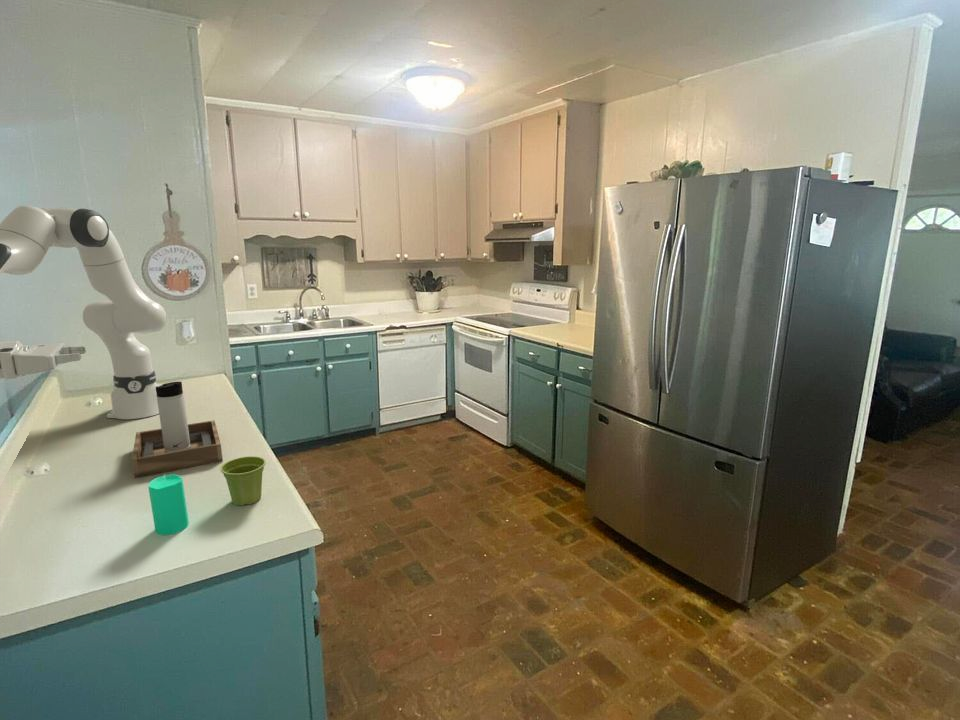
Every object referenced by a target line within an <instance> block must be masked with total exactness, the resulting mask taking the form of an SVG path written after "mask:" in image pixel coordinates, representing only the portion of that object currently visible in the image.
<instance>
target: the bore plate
mask: <svg viewBox="0 0 960 720" xmlns="http://www.w3.org/2000/svg"><path fill="white" fill-rule="evenodd" d="M189 438H190V442H196V441H202V442H203V446H206V445H212V444H211V440H210V435H209V431H204V432H198V433H192V434H189ZM161 447H164V443H163V438H161V439H155V440H149V441H145V447H144V456H149V455H154V449H155V448H161ZM144 456H143V457H144Z"/></svg>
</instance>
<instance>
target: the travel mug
mask: <svg viewBox="0 0 960 720" xmlns="http://www.w3.org/2000/svg"><path fill="white" fill-rule="evenodd" d="M156 393H157V402H158V409H159V420H160V421H159V422H160V429H162V436H163V443H164V448H165V453H166V452H172V451H178V450H184V449H189V448H191V445H190V438H189V431H188V424H189V423H188V418H187V410H186V403H185V395H184V390H183V384H182V381H172V382H165V383H163V384H162V385H160V386H157V387H156Z"/></svg>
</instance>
